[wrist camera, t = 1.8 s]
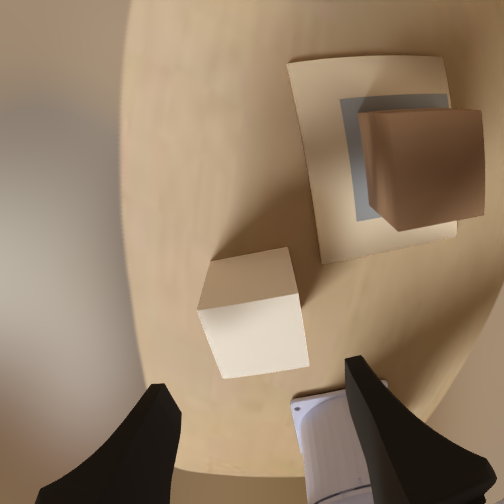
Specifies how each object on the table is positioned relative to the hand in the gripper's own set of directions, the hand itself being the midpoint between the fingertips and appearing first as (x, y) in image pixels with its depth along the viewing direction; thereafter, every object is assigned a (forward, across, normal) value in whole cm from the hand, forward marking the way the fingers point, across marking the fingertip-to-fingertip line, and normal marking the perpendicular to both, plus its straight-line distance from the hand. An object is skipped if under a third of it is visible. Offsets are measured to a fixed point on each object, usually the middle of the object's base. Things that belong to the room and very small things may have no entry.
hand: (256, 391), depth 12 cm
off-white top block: (+8, 0, 0) cm, 8 cm away
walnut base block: (+8, -10, -6) cm, 14 cm away
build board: (+8, -8, -6) cm, 13 cm away
